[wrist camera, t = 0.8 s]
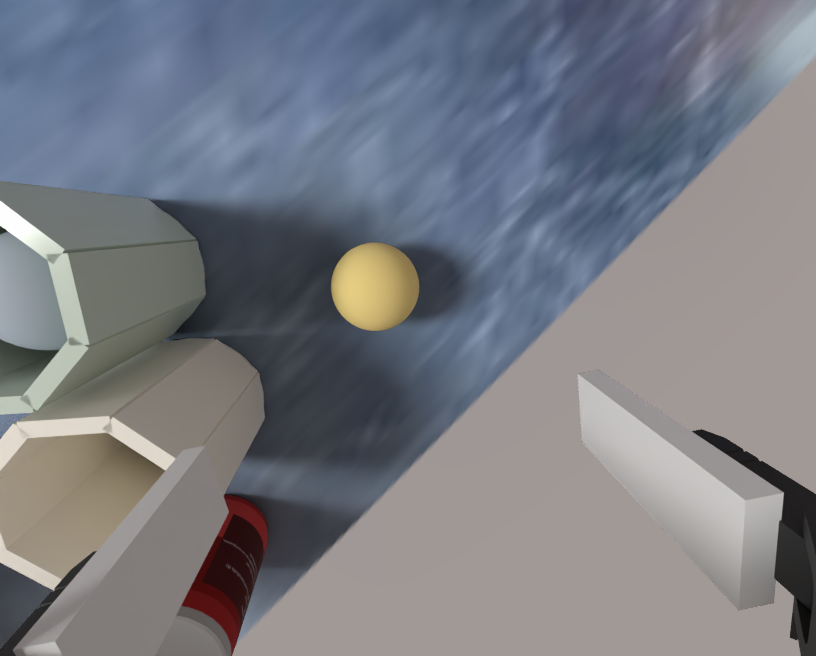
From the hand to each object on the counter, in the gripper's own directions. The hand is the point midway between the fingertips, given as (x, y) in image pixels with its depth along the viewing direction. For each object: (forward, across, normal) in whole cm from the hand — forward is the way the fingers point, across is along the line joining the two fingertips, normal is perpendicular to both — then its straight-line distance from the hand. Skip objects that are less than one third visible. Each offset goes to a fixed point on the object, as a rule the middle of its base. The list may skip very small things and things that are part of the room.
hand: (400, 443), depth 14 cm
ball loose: (+15, 0, +3) cm, 15 cm away
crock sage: (+18, -17, +7) cm, 25 cm away
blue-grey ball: (+8, -16, +7) cm, 19 cm away
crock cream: (+18, -16, -3) cm, 24 cm away
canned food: (+18, -17, -16) cm, 29 cm away
